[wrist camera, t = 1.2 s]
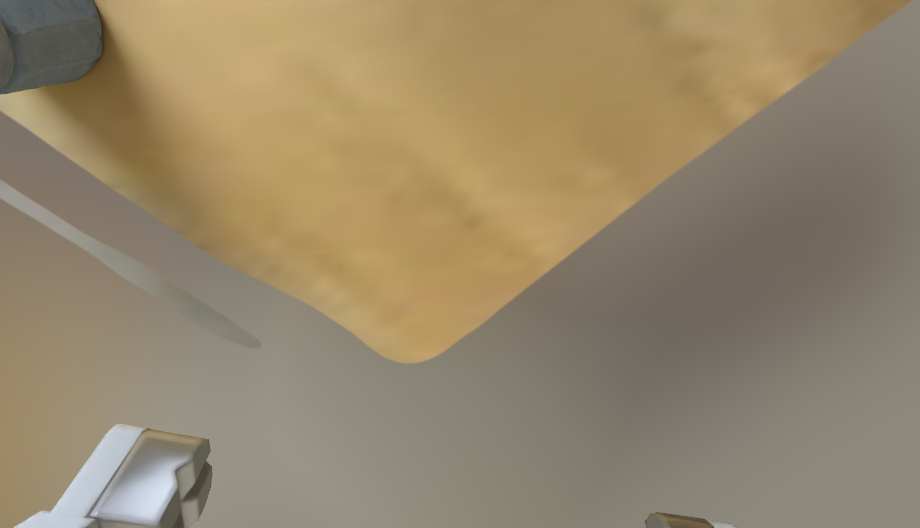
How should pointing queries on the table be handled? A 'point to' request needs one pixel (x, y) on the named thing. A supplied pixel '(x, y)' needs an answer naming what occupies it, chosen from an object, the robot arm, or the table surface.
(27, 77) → the moka pot
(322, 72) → the table surface
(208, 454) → the robot arm
